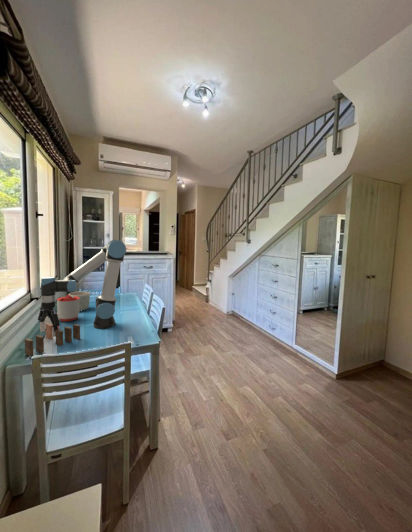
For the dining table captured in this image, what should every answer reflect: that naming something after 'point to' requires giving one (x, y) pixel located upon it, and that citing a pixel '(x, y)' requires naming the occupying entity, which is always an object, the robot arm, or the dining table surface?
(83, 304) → the planter
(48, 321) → the ink cartridge box
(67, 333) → the domino
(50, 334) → the domino
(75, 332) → the domino
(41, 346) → the domino
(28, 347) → the domino
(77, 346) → the dining table surface
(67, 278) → the robot arm
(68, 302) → the citrus juicer
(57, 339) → the domino
